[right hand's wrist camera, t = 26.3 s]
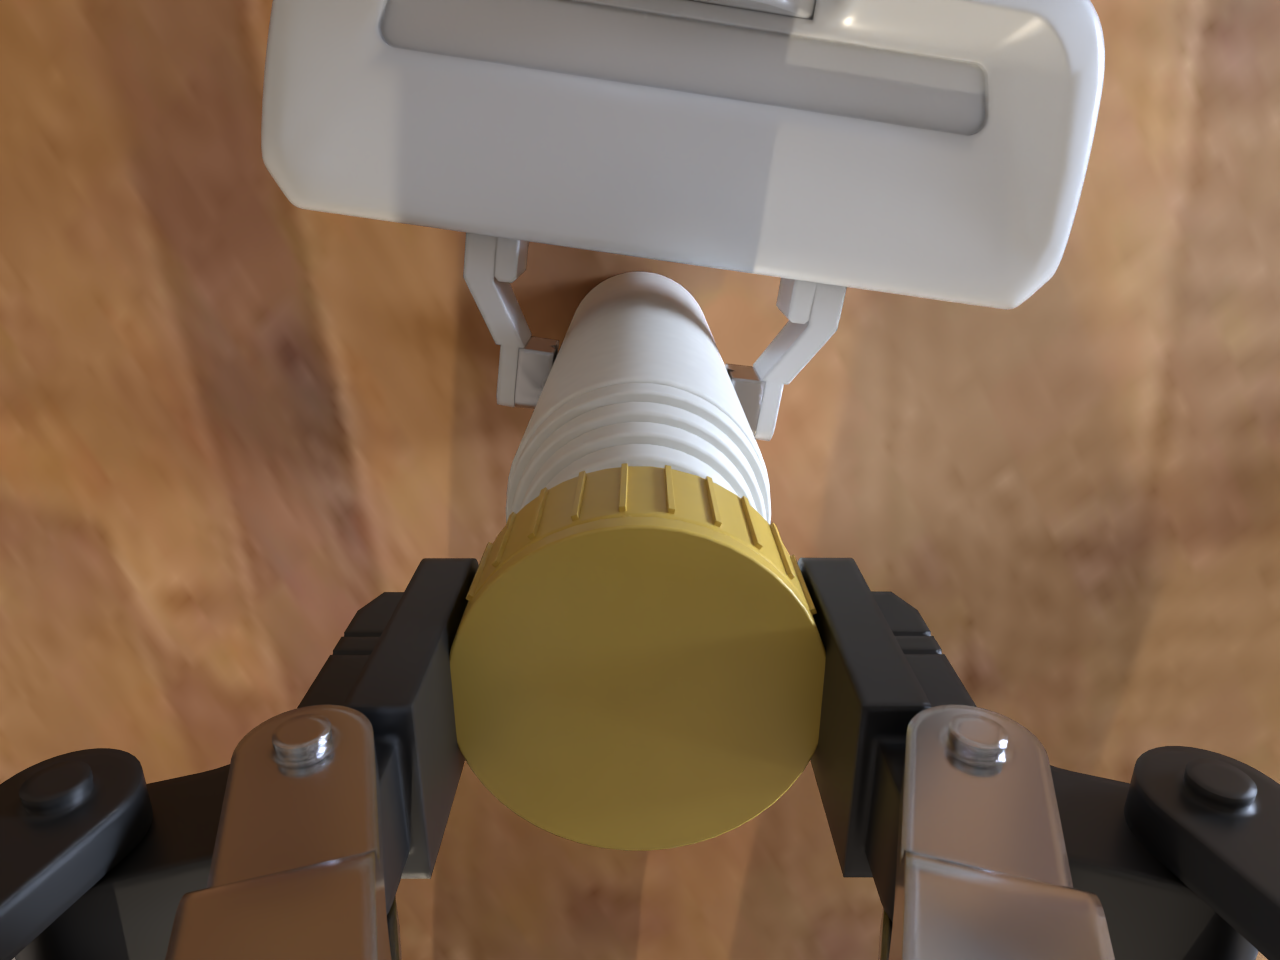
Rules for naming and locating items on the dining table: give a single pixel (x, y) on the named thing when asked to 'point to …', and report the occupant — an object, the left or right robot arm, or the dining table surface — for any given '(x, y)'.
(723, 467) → the bottle
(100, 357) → the dining table surface
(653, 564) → the cap
